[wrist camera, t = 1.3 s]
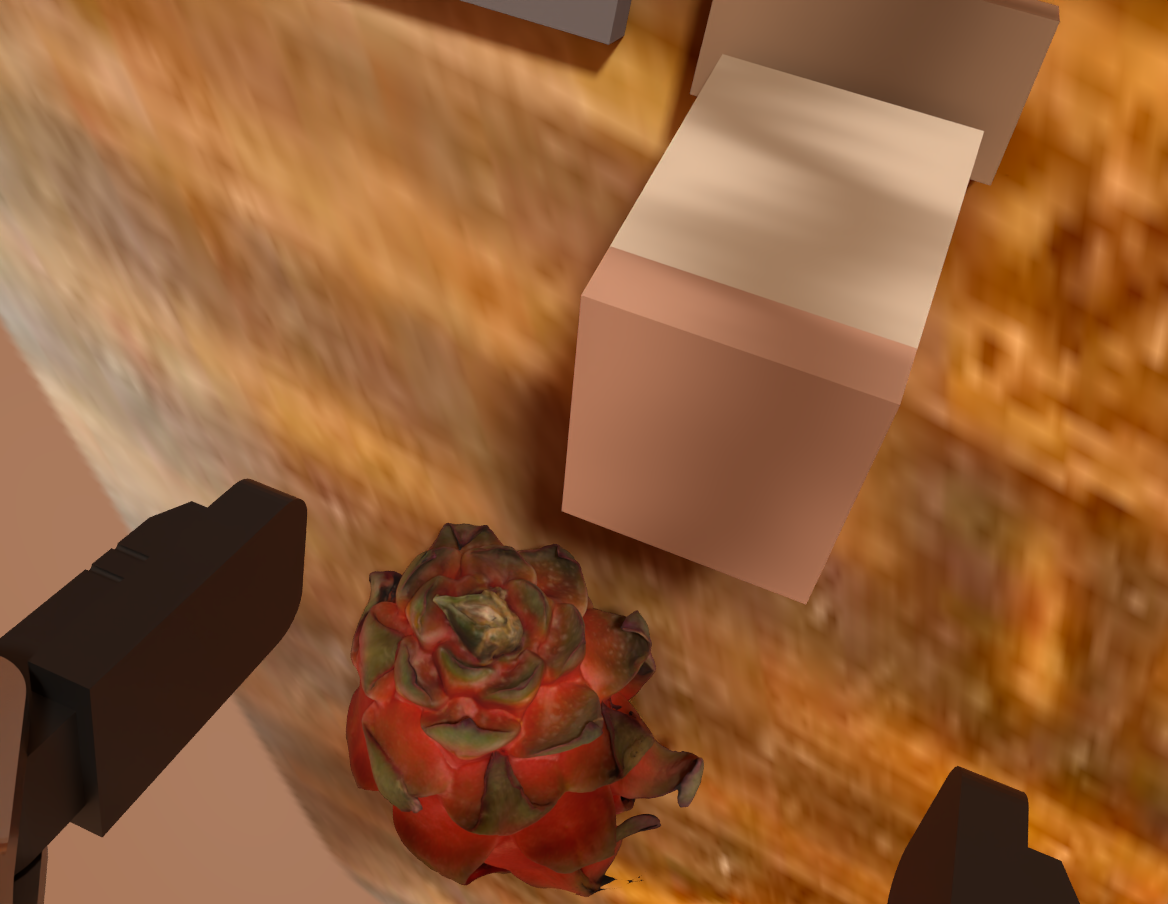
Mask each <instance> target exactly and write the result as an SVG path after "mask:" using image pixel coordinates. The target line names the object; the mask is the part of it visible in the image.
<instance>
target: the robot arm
mask: <svg viewBox="0 0 1168 904" xmlns="http://www.w3.org/2000/svg"><path fill="white" fill-rule="evenodd" d="M306 525H307V507H306V504H305V502H304V501H303V500H301V499H299V498H296V497H294V496H291V495H289V494H286V493H284V492H281V491H279V490H276V489H274V488H271V487H269V486H266V485H264V484H261V483H259V482H256V481H254V480H251V479H243V480H241V481H239V482H237V483H236V484H235V485H233V486H232V487H231V488H230V489H229V490H228V491H226V492H225V493H224V494H223V495H222V496H220V497H219V498H218V499H217V500H216V501H215V502H213V503H212V504H211V505H210V506H209V507H208V508H207V507H205V506H202V505H200V504H197V503H195V502H192V501H191V502H188V503H186V504H183V505H181V506H178V507H176V508H173V509H171V510H168V511H165V512H163V513H160V514H158V515H155V516H153V517H150V518H148V519H147V520H146V521H145V522H143V523H142V524H141V525H140V526H139V527H137V528H136V529H135V530H134V531H132V532H131V533H130V534H129V535H127V536H126V537H125V538H124V539H122V540H121V541H120V542H119V543H118V545H117V547H116V549H112V548H111V549H110V550H109V551H108V552H106V553H105V554H104V555H103V556H101V557H100V558H99V559H98V560H96V562H94V563H93V564H92V567H91V569H90V570H89V571H88V570H84V571H83V572H82V573H80V574H79V575H78V576H77V577H75V578H74V579H73V580H72V581H70V582H69V583H68V584H67V585H66V586H64V587H63V588H62V589H61V590H59V591H58V592H57V593H56V594H54V595H53V596H52V597H51V598H49V599H48V600H47V601H46V602H44V603H43V604H42V605H41V606H40V607H38V608H37V609H36V610H35V611H33V612H32V613H31V614H30V615H28V616H27V617H26V618H25V619H24V620H22V621H21V622H20V623H19V624H17V625H16V626H15V627H14V628H12V629H11V630H10V631H9V632H7V633H6V634H5V635H4V636H2V637H1V638H0V904H44V895H45V884H46V872H47V861H48V848H47V845H48V844H49V843H50V842H51V841H52V840H53V839H54V838H55V837H56V836H57V835H58V834H59V833H60V831H61V830H62V829H63V828H64V827H65V826H66V825H67V824H68V823H69V822H72V823H74V824H76V825H78V826H80V827H82V828H84V829H86V830H88V831H90V832H92V833H94V834H96V835H98V836H100V837H103V836H104V835H105V834H106V833H107V832H108V831H109V829H110V828H111V827H112V826H113V825H114V824H115V823H116V822H117V821H118V820H119V818H120V817H121V816H122V815H123V814H124V813H125V812H126V811H127V809H129V807H130V806H131V805H132V804H133V803H134V802H135V801H136V800H137V799H138V797H139V796H140V795H141V794H142V793H143V792H144V791H145V790H146V789H147V787H148V786H149V785H150V784H151V783H152V782H153V781H154V780H155V779H156V778H157V776H158V775H159V774H160V773H161V772H162V771H163V770H164V769H165V768H166V766H167V765H168V764H169V763H170V762H171V761H172V760H173V759H174V758H175V757H176V755H177V754H178V753H179V752H180V751H181V750H182V749H183V748H184V747H185V745H186V744H187V743H188V742H189V741H190V740H191V739H192V738H193V737H194V736H195V734H196V733H197V732H198V731H199V730H200V729H201V728H202V727H203V726H204V724H205V723H206V722H207V721H208V720H209V719H210V718H211V717H212V716H213V715H214V713H215V712H216V711H217V710H218V709H219V708H220V707H221V706H222V704H223V703H224V702H225V701H226V700H227V699H228V698H229V697H230V696H231V695H232V694H233V692H234V691H235V690H236V689H237V688H238V687H239V686H240V685H241V684H242V682H243V681H244V680H245V679H246V678H247V677H248V676H249V675H250V674H251V673H252V671H253V670H254V669H255V668H256V667H257V666H258V665H259V664H260V663H261V661H262V660H263V659H264V658H265V657H266V656H267V655H268V654H269V653H270V652H271V650H272V649H273V648H274V647H275V646H276V645H277V644H278V643H279V641H280V640H281V639H282V638H283V636H284V635H285V634H286V632H287V630H288V629H289V627H290V625H291V623H292V622H293V620H294V617H295V615H296V613H297V610H298V607H299V604H300V600H301V596H302V586H303V571H304V556H305V540H306ZM1028 811H1029V807H1028V798H1027V795H1026V794H1025V793H1024V792H1021V791H1019V790H1016V789H1014V788H1012V787H1009V786H1007V785H1004V784H1002V783H999V782H997V781H994V780H992V779H989V778H987V777H984V776H982V775H979V774H977V773H974V772H972V771H969V770H967V769H964V768H962V767H959V766H957V767H955V768H954V769H953V770H952V771H951V772H950V774H949V775H948V777H947V778H946V780H945V782H944V784H943V785H942V787H941V789H940V790H939V792H938V794H937V796H936V797H935V799H934V801H933V802H932V804H931V806H930V808H929V809H928V811H927V813H926V814H925V816H924V818H923V820H922V821H921V823H920V825H919V826H918V828H917V830H916V832H915V833H914V835H913V837H912V838H911V840H910V842H909V844H908V845H907V847H906V849H905V851H904V853H903V855H902V857H901V860H900V862H899V865H898V867H897V870H896V873H895V876H894V879H893V882H892V886H891V890H890V893H889V898H888V903H887V904H1080V903H1079V901H1078V898H1077V896H1076V894H1075V891H1074V889H1073V887H1072V884H1071V882H1070V880H1069V878H1068V875H1067V873H1066V871H1065V868H1064V866H1063V864H1062V861H1060V860H1058V859H1055V858H1053V857H1050V856H1048V855H1045V854H1043V853H1041V852H1038V851H1036V850H1033V849H1031V848H1028Z"/></svg>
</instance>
